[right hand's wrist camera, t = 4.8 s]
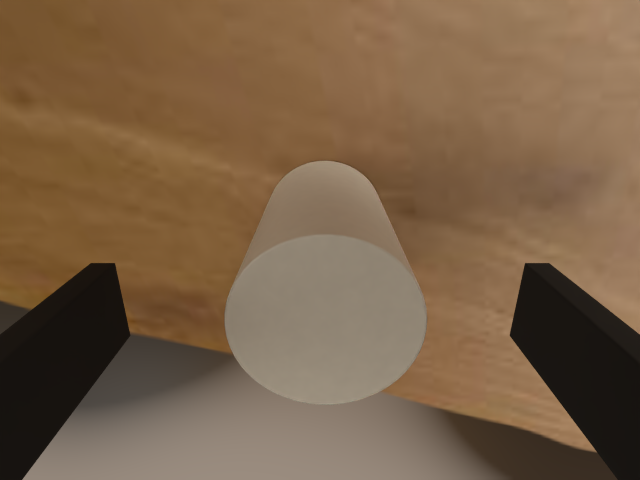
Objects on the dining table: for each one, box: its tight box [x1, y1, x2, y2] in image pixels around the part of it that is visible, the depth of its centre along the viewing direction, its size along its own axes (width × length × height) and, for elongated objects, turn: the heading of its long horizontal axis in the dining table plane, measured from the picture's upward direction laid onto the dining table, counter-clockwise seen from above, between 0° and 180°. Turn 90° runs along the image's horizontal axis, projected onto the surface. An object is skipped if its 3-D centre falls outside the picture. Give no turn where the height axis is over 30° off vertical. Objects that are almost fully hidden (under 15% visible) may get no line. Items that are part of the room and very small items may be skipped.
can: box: [225, 161, 427, 405], centre depth 15 cm, size 6×6×9 cm
